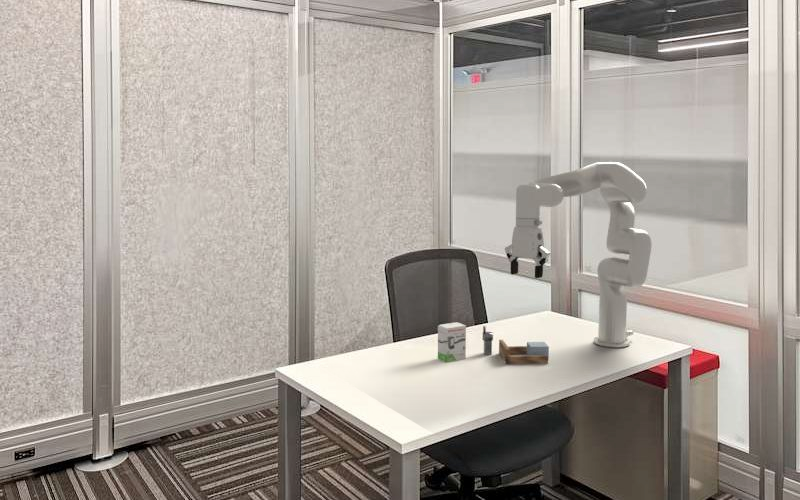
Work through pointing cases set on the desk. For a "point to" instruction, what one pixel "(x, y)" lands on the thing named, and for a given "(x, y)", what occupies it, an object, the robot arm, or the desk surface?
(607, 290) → the robot arm
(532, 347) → the blue-grey cube
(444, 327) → the ink box
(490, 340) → the winch post
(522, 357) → the bay
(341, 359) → the desk surface
